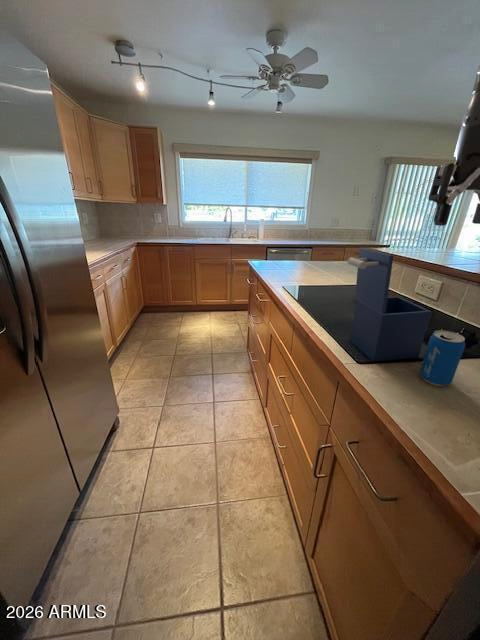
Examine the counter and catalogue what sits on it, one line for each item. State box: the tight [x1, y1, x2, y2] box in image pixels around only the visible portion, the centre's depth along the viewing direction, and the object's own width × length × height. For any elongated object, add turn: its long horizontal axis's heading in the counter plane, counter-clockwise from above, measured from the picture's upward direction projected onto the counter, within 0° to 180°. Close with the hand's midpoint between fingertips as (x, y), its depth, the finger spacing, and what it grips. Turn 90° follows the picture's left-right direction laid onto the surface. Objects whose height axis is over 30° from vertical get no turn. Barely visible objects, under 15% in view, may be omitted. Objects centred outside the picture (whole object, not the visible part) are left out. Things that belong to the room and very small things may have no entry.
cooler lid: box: [347, 247, 394, 313], centre depth 68 cm, size 14×13×6 cm
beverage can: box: [419, 329, 466, 387], centre depth 61 cm, size 6×6×12 cm
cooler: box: [349, 295, 433, 363], centre depth 75 cm, size 14×13×14 cm
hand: (459, 224), depth 51 cm, fingers open, 8 cm apart
